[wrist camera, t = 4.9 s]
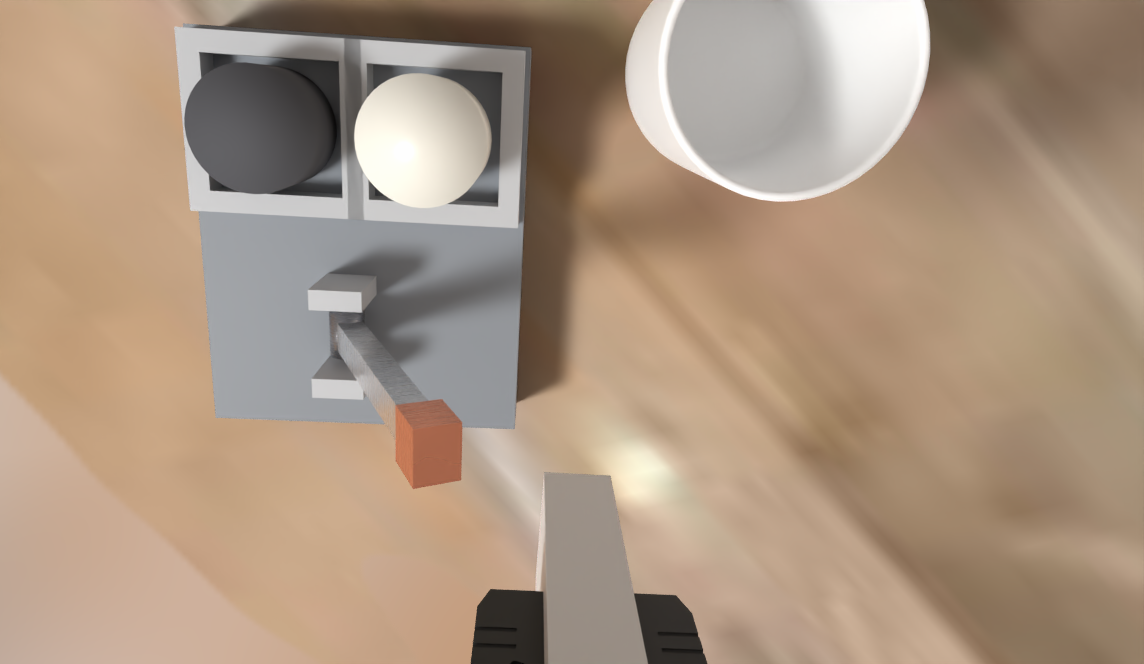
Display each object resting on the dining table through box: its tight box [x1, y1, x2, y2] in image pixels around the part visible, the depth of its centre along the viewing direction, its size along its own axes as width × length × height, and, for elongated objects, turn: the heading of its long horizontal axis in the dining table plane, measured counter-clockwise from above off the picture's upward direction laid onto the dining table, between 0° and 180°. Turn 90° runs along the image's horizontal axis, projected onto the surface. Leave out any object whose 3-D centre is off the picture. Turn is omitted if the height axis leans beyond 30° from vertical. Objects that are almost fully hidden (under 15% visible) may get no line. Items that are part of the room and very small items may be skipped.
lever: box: [329, 309, 462, 489], centre depth 26 cm, size 2×1×13 cm
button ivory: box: [354, 73, 492, 208], centre depth 27 cm, size 4×4×3 cm
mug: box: [625, 0, 930, 201], centre depth 27 cm, size 12×8×10 cm
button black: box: [184, 62, 337, 194], centre depth 27 cm, size 4×4×3 cm
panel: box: [174, 24, 532, 429], centre depth 31 cm, size 16×13×6 cm
